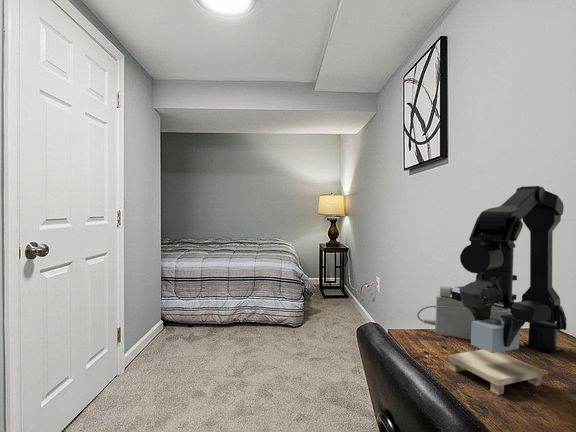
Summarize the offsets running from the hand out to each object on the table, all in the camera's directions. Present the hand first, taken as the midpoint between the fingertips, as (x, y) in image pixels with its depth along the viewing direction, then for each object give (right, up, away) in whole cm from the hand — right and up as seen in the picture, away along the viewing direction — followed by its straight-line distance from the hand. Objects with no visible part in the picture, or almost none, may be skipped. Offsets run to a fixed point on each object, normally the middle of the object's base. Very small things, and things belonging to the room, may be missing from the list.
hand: (494, 341), depth 73 cm
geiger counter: (+5, -8, +24) cm, 25 cm away
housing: (0, -1, 0) cm, 1 cm away
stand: (0, -7, 0) cm, 7 cm away
